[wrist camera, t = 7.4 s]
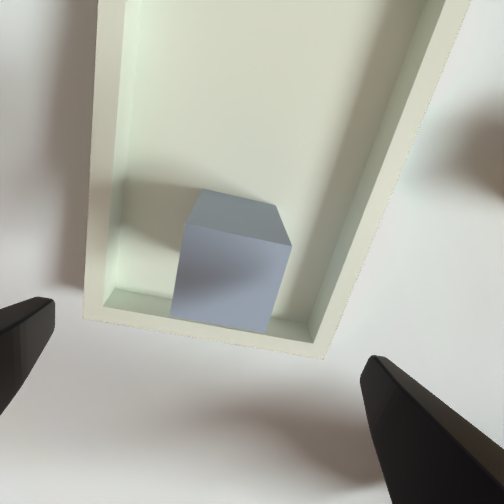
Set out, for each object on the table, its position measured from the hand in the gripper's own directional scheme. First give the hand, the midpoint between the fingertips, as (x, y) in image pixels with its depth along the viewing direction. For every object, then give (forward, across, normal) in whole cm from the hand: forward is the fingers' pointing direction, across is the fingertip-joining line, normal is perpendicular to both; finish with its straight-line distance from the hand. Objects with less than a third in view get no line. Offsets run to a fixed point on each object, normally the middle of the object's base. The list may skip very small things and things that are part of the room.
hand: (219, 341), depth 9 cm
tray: (+10, 0, -4) cm, 11 cm away
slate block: (+10, 0, 0) cm, 10 cm away
